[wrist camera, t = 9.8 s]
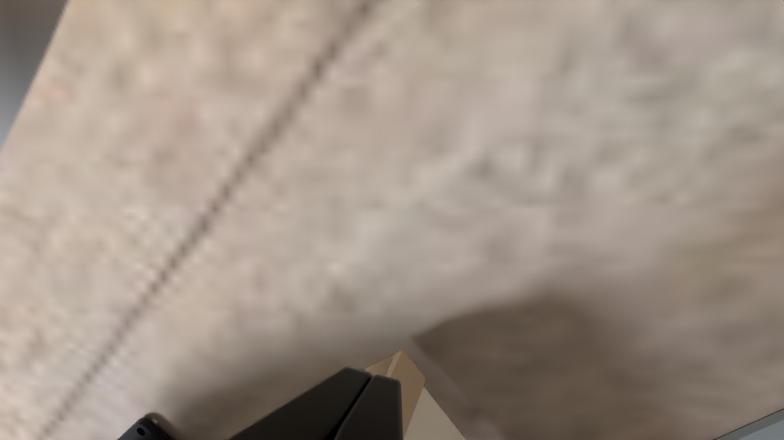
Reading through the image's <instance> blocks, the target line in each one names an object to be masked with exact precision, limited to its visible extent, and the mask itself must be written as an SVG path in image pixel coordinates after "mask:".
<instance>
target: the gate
mask: <svg viewBox="0 0 784 440" xmlns="http://www.w3.org/2000/svg"><path fill="white" fill-rule="evenodd" d="M365 371H368V372H370V373H371V374H372V375H373V376H374V375H376V374H380V375H384V376H388V377H391V378H395V379H398V380H399V381H400V382H401V391H402V419H403V440H465V438H464V437H463V436H462V434H461V433H460V432H459V431H458V429H457V428H456V427H455V426H454V424H453V423H452V422H451V421H450V419H449V418H448V417H447V416H446V414H445V413H444V412H443V410H442V409H441V408H440V407H439V405H438V404H437V403H436V402H435V400H434V399H433V398H432V397H431V395H430V394H429V393H428V391H427V390H426V389H425V388H424V383H425V381H426V378H425V377H424V375H423V374H422V373H421V371H420V370H419V369H418V368H417V366H416V365H415V364H414V363H413V361H412V360H411V359H410V357H409V356H408V355H407V354H406V352H405V351H404V350H403V349H402V350H400V351H398V352H397V353H395V354H393V355H391V356H389V357H387V358H385V359H383V360H381V361H379V362H377V363H375V364H373V365H371V366H369V367H367V368H366V369H365Z"/></svg>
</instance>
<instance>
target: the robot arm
mask: <svg viewBox="0 0 784 440" xmlns="http://www.w3.org/2000/svg"><path fill="white" fill-rule="evenodd" d="M118 440H170V439H169V438H168V437H167V436H165V435H164V434H163V433H162V432H161V431H160V430H159V429H158V428H157V427H156V426H155V425H154V424H153V423H152V422H150V421H149V420H148V419H145V418H141V419H139V420H138V421H137V422H136V423H135V424H134V425H133V426H131V427H130V428H129V429H128V430H127V431H126V432H125V433H124V434H123V435H122V436H121V437H120V438H119V439H118ZM226 440H403V419H402V391H401V382H400V381H399V380H398V379H395V378H391V377H388V376H384V375H380V374H376V375H374V376H373V375H372V374H371V373H370V372H368V371H364V370H361V369H357V368H353V367H345V368H343V369H341V370H339V371H338V372H336V373H334V374H333V375H331V376H329V377H328V378H326V379H324V380H323V381H321V382H320V383H318V384H316V385H315V386H313V387H311V388H310V389H308V390H306V391H305V392H303V393H301V394H300V395H298V396H297V397H295V398H293V399H292V400H290V401H288V402H287V403H285V404H283V405H282V406H280V407H279V408H277V409H275V410H274V411H272V412H270V413H269V414H267V415H265V416H264V417H262V418H261V419H259V420H257V421H256V422H254V423H252V424H251V425H249V426H247V427H246V428H244V429H242V430H241V431H239V432H238V433H236V434H234V435H233V436H231V437H229V438H228V439H226Z"/></svg>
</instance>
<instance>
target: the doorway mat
mask: <svg viewBox="0 0 784 440" xmlns="http://www.w3.org/2000/svg"><path fill="white" fill-rule="evenodd" d="M716 440H784V409H783V410H781V411H779V412H777V413H774V414H772V415H770V416H768V417H765V418H763V419H761V420H759V421H756V422H754V423H752V424H750V425H747V426H745V427H743V428H741V429H738V430H736V431H734V432H732V433H729V434H727V435H725V436H723V437H720V438H718V439H716Z"/></svg>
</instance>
